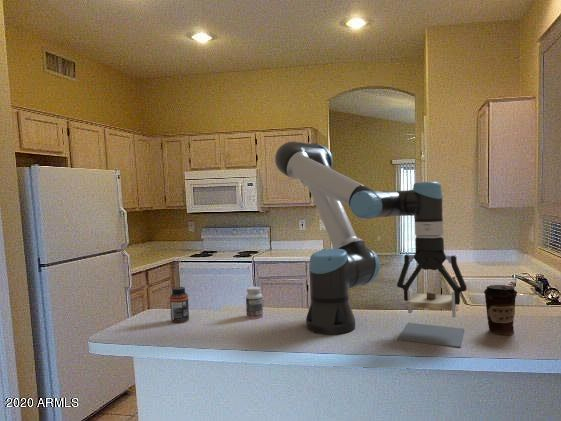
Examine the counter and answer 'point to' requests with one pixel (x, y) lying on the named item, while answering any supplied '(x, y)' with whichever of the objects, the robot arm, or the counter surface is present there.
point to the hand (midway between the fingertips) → (431, 314)
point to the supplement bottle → (179, 305)
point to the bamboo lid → (431, 301)
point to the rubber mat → (432, 334)
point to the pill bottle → (254, 302)
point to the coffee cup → (500, 308)
